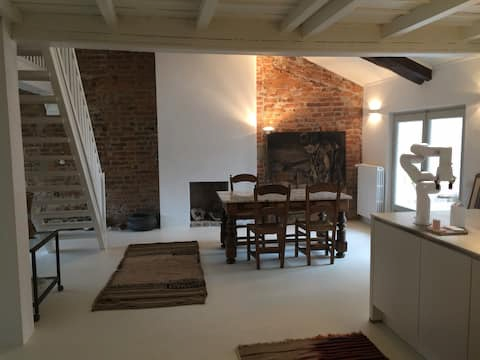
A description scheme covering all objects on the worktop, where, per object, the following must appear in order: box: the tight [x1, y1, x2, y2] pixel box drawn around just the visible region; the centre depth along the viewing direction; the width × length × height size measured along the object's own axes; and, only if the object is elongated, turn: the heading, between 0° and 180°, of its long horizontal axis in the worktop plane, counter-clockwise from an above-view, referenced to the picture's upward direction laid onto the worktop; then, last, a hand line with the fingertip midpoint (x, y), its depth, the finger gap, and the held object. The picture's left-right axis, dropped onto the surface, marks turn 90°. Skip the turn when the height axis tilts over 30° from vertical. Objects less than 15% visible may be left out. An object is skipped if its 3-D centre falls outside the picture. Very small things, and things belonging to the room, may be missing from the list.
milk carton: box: [449, 199, 467, 228], centre depth 291 cm, size 7×7×19 cm
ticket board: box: [425, 225, 469, 236], centre depth 275 cm, size 16×20×3 cm
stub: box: [426, 218, 446, 232], centre depth 273 cm, size 12×6×7 cm, turn 10°
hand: (443, 189), depth 278 cm, fingers open, 9 cm apart
